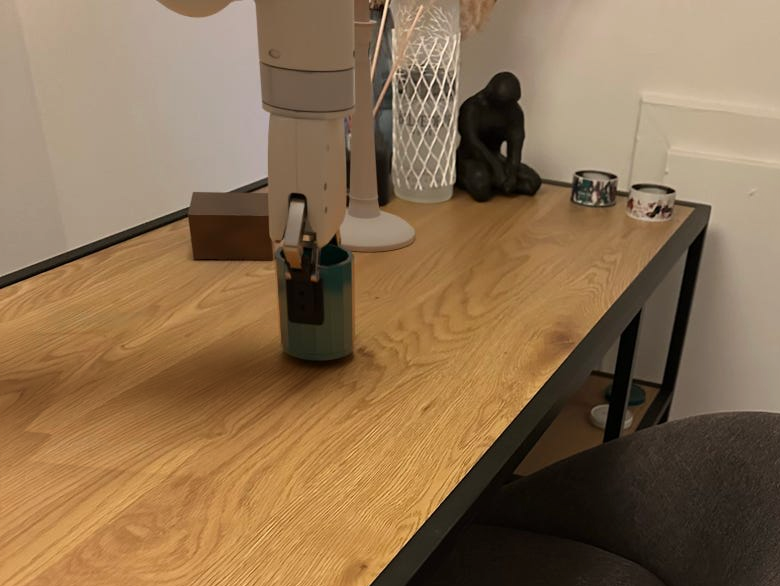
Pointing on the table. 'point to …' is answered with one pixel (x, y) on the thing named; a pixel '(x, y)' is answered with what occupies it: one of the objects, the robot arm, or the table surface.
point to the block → (230, 226)
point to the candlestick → (367, 161)
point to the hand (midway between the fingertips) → (316, 305)
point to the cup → (338, 308)
